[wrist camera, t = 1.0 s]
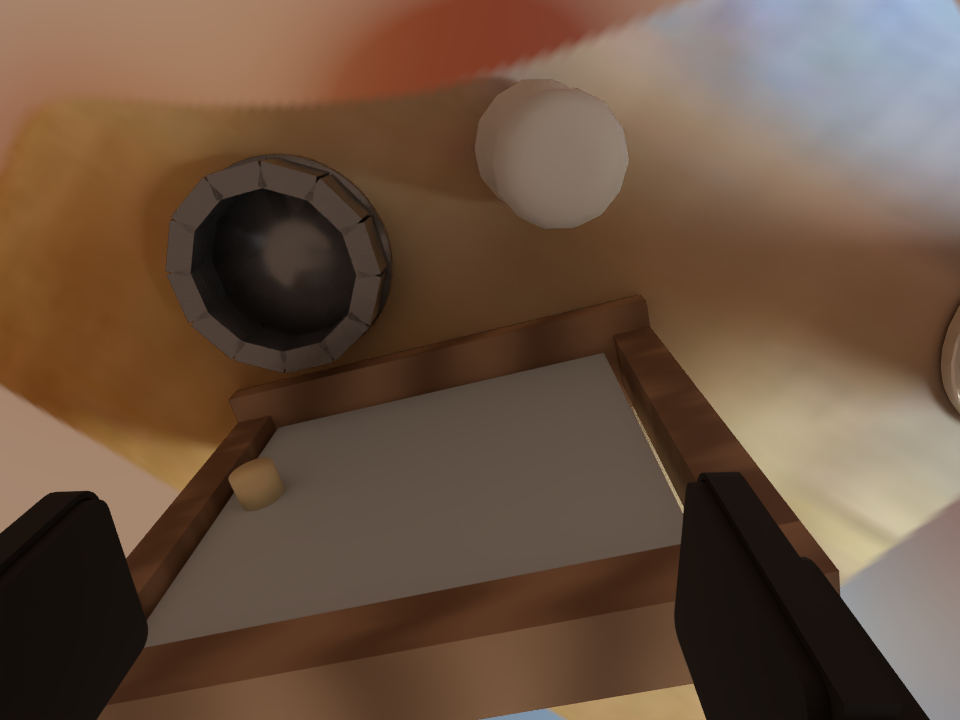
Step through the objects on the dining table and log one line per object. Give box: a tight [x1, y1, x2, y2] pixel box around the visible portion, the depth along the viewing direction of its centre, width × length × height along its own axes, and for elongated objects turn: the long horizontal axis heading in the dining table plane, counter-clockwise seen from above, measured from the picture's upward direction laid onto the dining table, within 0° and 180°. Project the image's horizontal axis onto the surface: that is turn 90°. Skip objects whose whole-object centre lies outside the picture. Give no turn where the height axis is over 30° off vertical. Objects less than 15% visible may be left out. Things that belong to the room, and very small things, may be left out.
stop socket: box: [166, 154, 392, 373], centre depth 31 cm, size 11×11×3 cm
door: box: [144, 353, 683, 648], centre depth 26 cm, size 19×3×16 cm, turn 104°
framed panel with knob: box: [97, 295, 840, 720], centre depth 26 cm, size 24×6×20 cm, turn 104°
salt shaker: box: [474, 79, 629, 229], centre depth 24 cm, size 6×6×13 cm
